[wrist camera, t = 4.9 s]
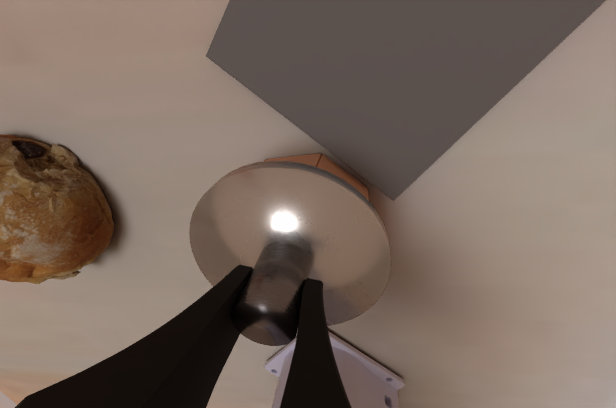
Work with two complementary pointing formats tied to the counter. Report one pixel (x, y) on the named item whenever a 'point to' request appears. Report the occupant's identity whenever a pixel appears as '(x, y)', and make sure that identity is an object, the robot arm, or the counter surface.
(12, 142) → the bread roll
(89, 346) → the counter surface
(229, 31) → the plate
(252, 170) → the lid
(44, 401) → the robot arm
